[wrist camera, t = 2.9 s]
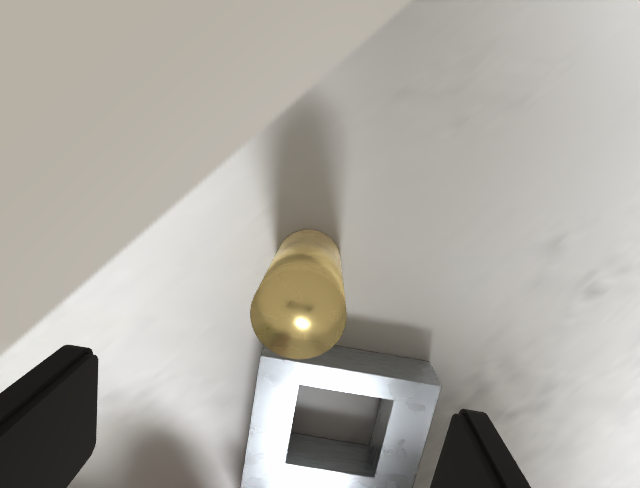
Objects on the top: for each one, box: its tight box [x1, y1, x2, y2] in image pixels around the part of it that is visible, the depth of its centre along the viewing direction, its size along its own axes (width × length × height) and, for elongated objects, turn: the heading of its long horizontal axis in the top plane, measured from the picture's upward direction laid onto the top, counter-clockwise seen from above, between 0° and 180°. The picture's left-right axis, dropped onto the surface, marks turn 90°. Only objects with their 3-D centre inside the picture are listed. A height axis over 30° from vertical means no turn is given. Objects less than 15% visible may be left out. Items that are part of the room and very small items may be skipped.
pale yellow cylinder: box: [250, 230, 346, 359], centre depth 21 cm, size 4×4×9 cm
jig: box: [241, 345, 441, 488], centre depth 26 cm, size 12×16×5 cm
